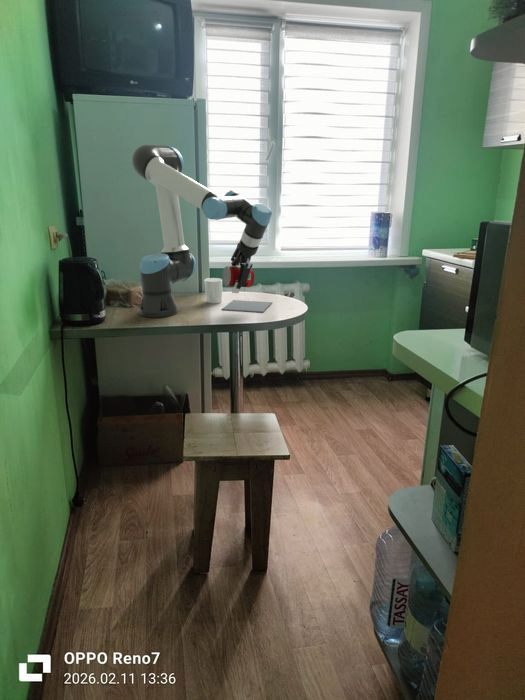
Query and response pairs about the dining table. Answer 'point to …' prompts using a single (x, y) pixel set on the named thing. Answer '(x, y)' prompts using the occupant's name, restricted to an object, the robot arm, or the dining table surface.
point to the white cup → (213, 290)
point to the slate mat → (247, 306)
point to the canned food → (236, 276)
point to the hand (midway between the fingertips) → (232, 285)
